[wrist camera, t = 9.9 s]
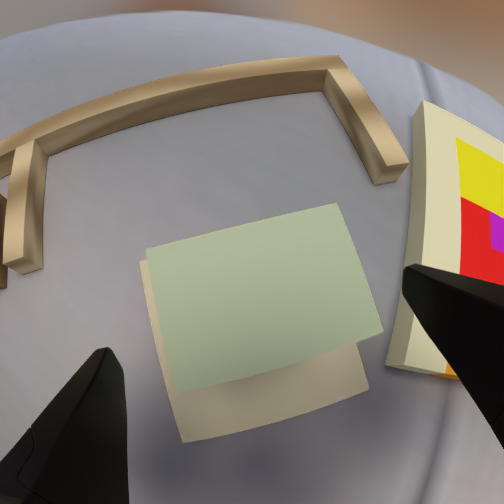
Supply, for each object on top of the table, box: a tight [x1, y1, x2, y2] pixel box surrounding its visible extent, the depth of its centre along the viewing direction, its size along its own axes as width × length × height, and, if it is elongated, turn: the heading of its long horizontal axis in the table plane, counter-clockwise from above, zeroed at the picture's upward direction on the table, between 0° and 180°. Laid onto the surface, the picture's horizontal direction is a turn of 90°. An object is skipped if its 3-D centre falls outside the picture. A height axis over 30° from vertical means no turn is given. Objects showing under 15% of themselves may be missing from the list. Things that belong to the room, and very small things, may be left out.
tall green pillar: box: [146, 203, 384, 393], centre depth 12 cm, size 4×5×10 cm
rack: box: [0, 55, 410, 274], centre depth 20 cm, size 12×38×2 cm, turn 105°
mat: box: [140, 259, 369, 443], centre depth 17 cm, size 11×11×1 cm
